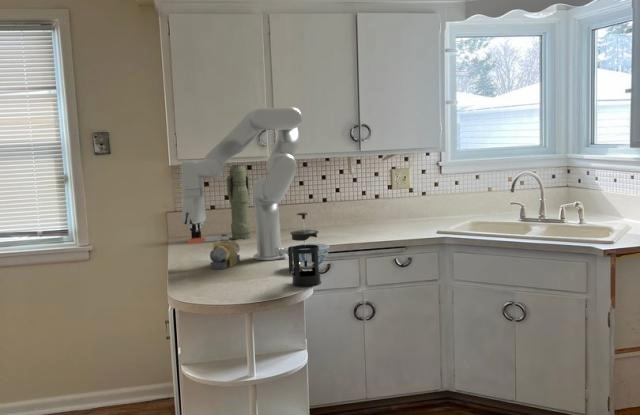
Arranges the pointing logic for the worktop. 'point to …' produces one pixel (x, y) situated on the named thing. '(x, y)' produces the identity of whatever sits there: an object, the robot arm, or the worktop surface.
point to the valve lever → (208, 239)
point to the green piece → (239, 201)
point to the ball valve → (224, 254)
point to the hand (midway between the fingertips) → (196, 241)
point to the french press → (305, 276)
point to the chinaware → (321, 254)
